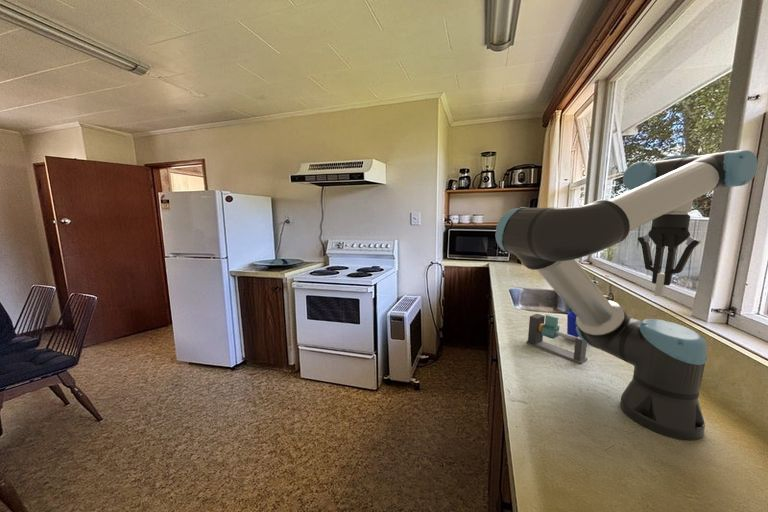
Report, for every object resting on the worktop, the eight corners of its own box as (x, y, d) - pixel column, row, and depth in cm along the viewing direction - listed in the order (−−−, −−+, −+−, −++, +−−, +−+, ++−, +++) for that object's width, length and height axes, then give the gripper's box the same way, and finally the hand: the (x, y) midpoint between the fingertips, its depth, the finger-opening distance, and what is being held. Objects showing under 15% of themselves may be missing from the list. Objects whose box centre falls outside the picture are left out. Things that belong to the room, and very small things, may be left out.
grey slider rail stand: (587, 359, 101) (590, 329, 99) (580, 364, 98) (584, 332, 96) (533, 339, 116) (535, 313, 115) (526, 342, 114) (528, 315, 112)
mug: (604, 343, 113) (607, 318, 112) (573, 343, 113) (575, 318, 112) (590, 334, 121) (592, 311, 120) (560, 334, 122) (563, 311, 120)
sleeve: (558, 336, 108) (560, 317, 106) (552, 339, 105) (554, 319, 104) (547, 332, 111) (549, 313, 110) (541, 335, 109) (543, 315, 108)
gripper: (708, 213, 79) (694, 298, 82) (645, 213, 89) (635, 288, 93) (702, 213, 74) (687, 303, 78) (637, 213, 85) (626, 292, 89)
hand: (659, 295), depth 85 cm, fingers closed
